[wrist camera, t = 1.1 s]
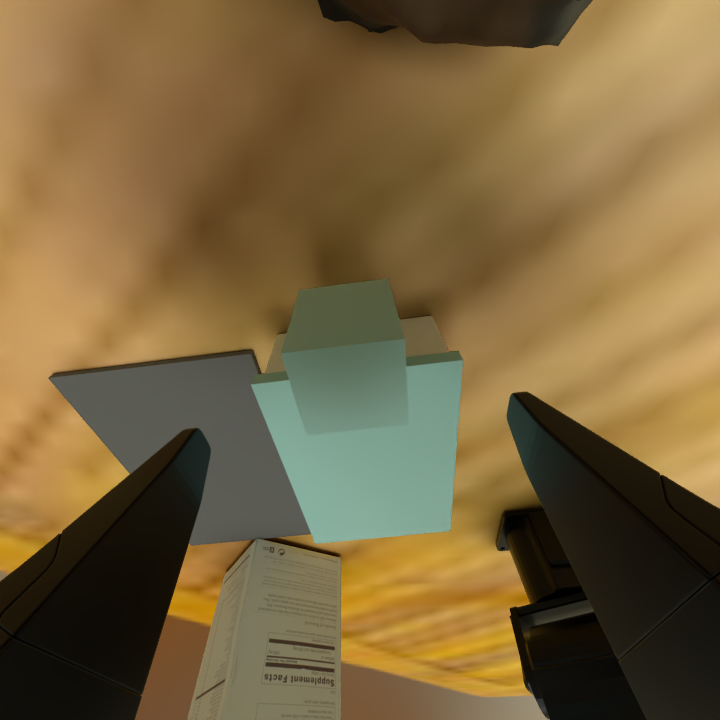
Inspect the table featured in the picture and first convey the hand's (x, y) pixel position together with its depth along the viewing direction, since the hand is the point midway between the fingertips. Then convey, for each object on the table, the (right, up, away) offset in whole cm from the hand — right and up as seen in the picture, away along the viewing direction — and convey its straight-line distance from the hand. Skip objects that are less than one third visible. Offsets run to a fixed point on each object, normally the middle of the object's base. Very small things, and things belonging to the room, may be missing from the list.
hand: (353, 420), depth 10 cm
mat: (-11, -6, +15) cm, 20 cm away
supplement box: (-8, -19, +24) cm, 32 cm away
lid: (+1, -2, +9) cm, 9 cm away
